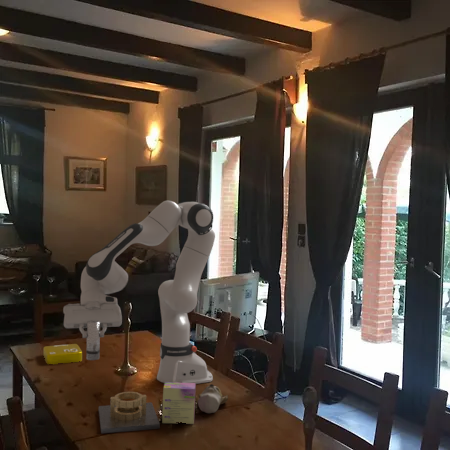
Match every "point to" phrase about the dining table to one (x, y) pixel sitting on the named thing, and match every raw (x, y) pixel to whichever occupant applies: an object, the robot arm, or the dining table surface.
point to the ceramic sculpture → (211, 399)
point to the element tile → (62, 354)
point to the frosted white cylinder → (93, 340)
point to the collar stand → (128, 414)
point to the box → (178, 403)
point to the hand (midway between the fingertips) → (93, 336)
